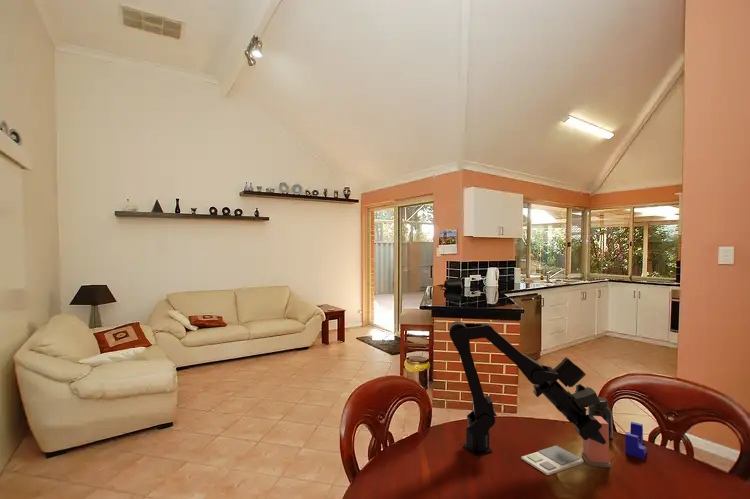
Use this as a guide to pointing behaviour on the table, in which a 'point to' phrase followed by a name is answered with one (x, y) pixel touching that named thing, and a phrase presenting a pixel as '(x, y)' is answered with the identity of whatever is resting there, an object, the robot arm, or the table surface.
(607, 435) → the salmon block on plinth
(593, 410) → the supplement bottle
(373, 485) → the table surface
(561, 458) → the panel board
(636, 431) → the blue cradle bracket
